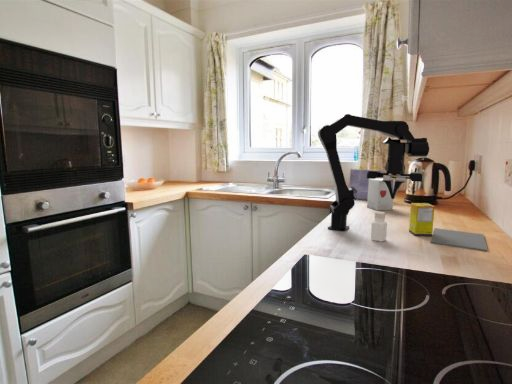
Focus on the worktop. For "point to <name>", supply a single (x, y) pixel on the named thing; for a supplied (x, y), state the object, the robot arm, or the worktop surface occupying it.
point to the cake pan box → (359, 183)
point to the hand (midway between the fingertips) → (392, 198)
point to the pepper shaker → (379, 227)
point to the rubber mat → (459, 239)
